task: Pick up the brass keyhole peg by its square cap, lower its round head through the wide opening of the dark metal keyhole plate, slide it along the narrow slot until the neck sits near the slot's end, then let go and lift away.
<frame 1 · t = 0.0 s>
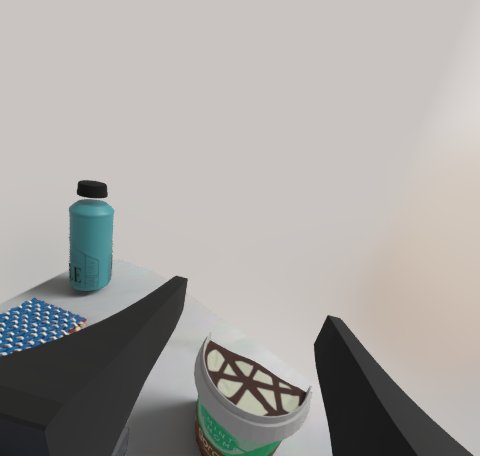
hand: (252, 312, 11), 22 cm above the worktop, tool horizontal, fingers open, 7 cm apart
food container: (224, 452, 23), on the worktop
beverage bottle: (90, 289, 42), on the worktop
woven mat: (24, 340, 30), on the worktop
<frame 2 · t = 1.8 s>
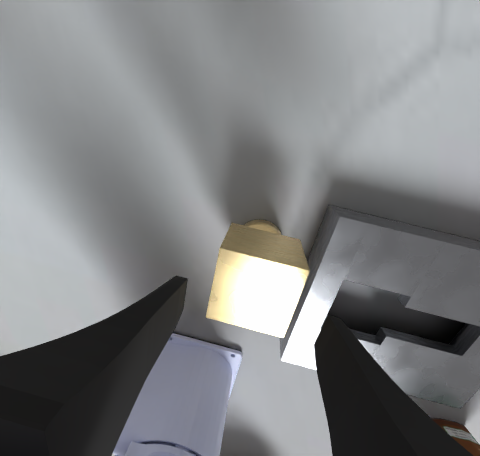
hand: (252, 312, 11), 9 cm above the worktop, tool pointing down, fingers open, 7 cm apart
brass peg: (259, 241, 19), on the worktop
food container: (407, 431, 26), on the worktop
keyhole plate: (388, 300, 20), on the worktop
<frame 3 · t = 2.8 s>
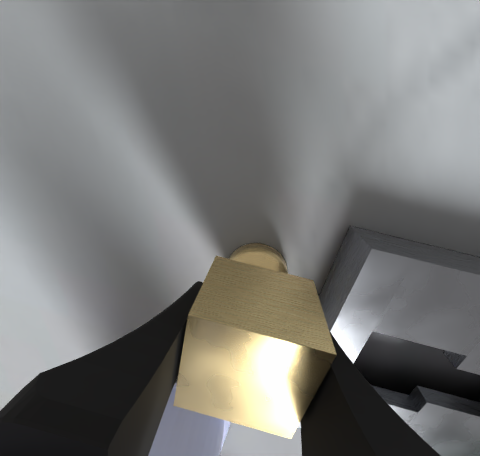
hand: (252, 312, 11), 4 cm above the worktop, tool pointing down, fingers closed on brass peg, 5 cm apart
brass peg: (256, 270, 15), on the worktop, touching gripper
keyhole plate: (424, 346, 15), on the worktop
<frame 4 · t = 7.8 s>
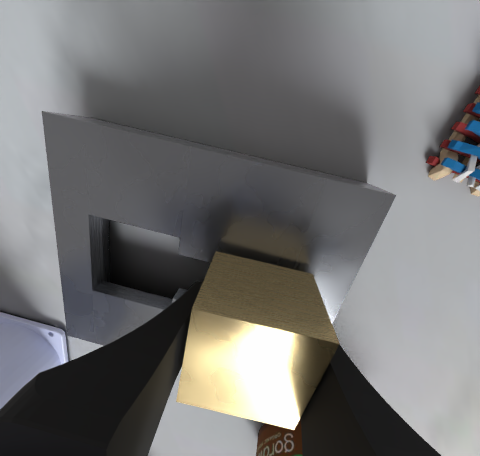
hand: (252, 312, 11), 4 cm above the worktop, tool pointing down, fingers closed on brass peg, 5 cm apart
brass peg: (254, 266, 15), resting in keyhole plate, touching gripper
food container: (282, 428, 21), on the worktop
keyhole plate: (206, 256, 15), on the worktop
when the fingers open (4 cm above the worktop, at t = 8.6 s): brass peg stays where it is, resting in keyhole plate.
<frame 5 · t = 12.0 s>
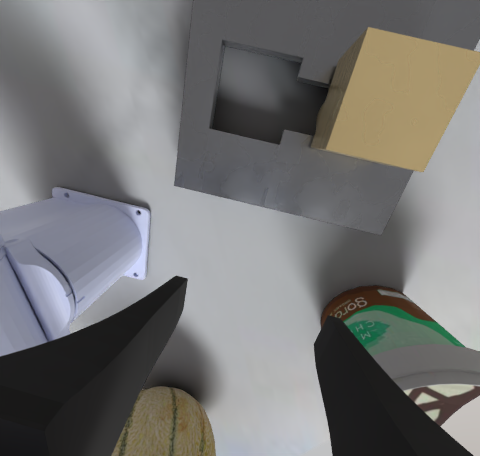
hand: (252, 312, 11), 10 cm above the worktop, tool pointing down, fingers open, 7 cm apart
brass peg: (343, 120, 17), resting in keyhole plate
food container: (344, 309, 23), on the worktop
keyhole plate: (299, 113, 17), on the worktop
cantaloupe: (174, 396, 31), on the worktop
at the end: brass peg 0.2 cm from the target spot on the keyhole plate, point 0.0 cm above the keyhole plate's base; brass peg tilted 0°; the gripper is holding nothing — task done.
